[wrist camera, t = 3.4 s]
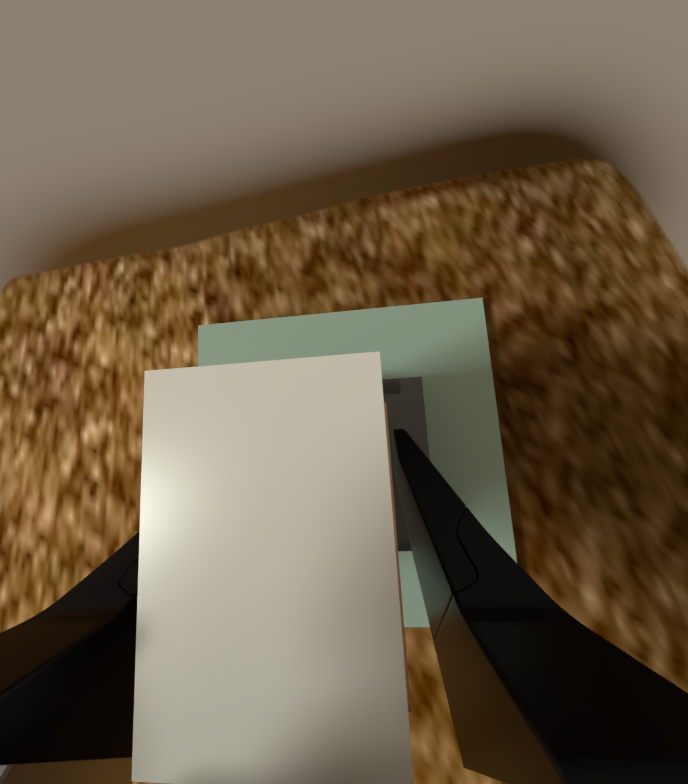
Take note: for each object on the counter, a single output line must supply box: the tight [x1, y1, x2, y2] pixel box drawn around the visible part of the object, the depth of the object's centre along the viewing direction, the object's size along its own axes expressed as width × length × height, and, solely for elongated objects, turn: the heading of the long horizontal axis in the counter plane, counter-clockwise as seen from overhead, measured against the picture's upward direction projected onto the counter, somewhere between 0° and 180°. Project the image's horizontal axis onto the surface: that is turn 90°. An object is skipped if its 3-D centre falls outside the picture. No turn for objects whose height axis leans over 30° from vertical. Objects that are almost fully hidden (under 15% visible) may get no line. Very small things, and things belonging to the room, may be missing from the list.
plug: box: [132, 351, 414, 784], centre depth 10 cm, size 6×4×12 cm
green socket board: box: [198, 298, 517, 627], centre depth 15 cm, size 18×18×3 cm
